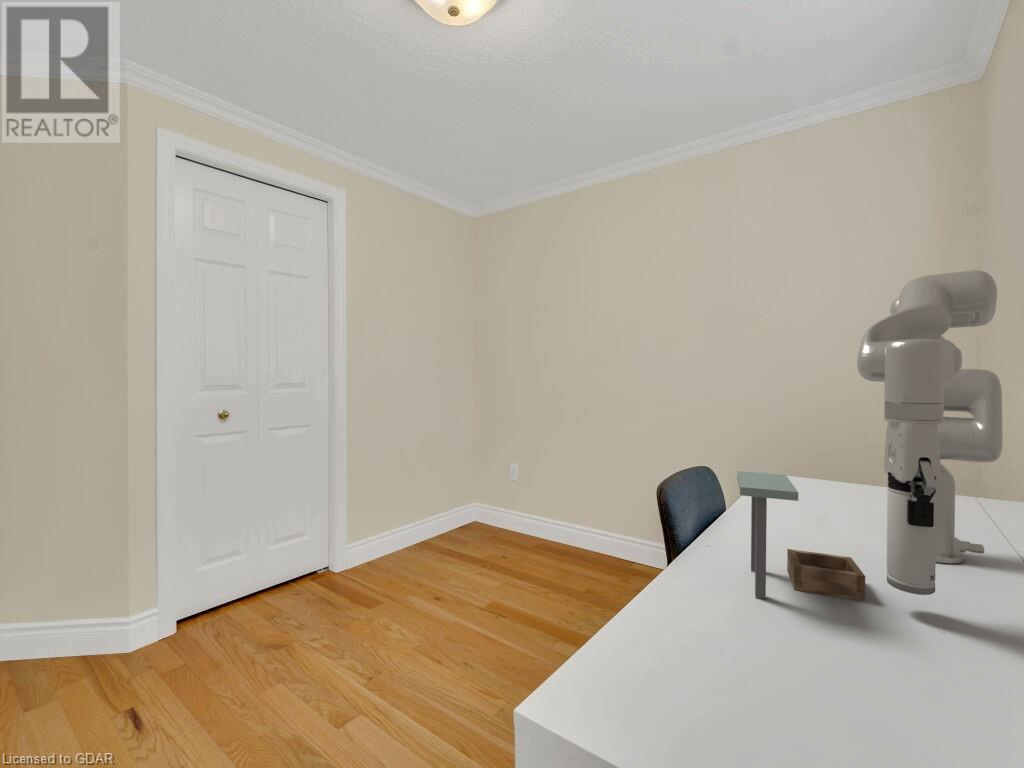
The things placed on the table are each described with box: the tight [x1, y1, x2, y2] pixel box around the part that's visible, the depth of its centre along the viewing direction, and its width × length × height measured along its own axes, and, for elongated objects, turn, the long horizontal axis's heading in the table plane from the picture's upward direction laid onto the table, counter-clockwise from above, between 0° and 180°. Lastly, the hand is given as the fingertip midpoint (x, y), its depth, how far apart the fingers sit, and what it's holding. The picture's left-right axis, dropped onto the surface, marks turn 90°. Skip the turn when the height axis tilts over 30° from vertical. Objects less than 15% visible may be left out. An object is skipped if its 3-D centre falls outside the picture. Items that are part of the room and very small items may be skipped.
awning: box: [736, 470, 799, 601], centre depth 90 cm, size 9×17×20 cm, turn 156°
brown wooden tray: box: [786, 548, 866, 602], centre depth 90 cm, size 11×10×4 cm
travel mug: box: [886, 472, 937, 596], centre depth 78 cm, size 6×7×20 cm
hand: (912, 518), depth 78 cm, fingers closed on travel mug, 6 cm apart
